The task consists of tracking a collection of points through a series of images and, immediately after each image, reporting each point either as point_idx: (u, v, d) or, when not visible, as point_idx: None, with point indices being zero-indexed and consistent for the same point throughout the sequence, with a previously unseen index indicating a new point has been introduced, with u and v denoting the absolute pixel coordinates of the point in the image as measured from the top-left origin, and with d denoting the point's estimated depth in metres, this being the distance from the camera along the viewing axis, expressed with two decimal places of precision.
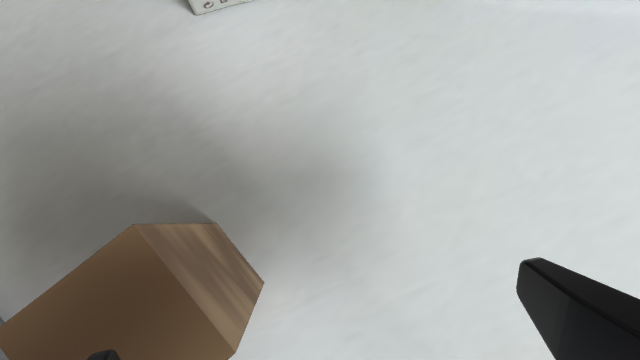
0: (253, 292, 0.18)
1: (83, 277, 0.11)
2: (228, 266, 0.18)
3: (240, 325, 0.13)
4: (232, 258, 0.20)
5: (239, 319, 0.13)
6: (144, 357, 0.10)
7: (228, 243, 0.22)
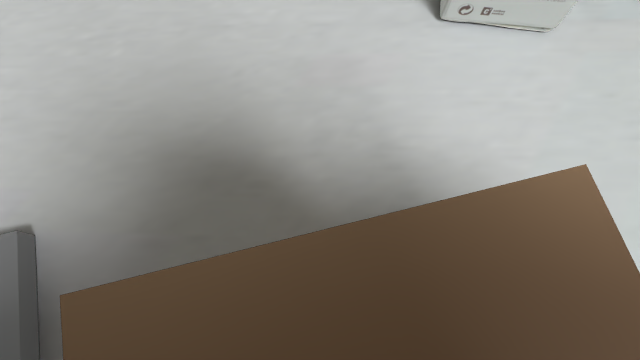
0: None
1: (400, 250, 0.03)
2: None
3: None
4: None
5: None
6: None
7: None
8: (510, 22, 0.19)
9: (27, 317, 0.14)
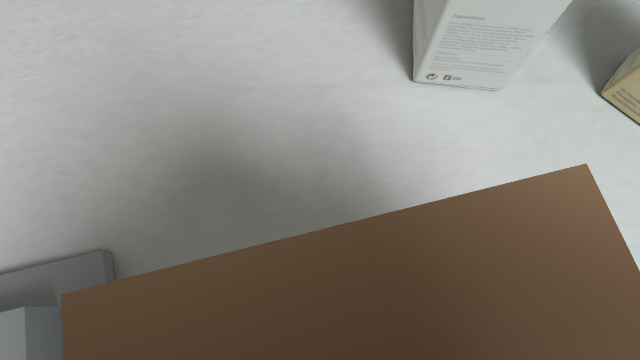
0: None
1: (400, 250, 0.03)
2: None
3: None
4: None
5: None
6: None
7: None
8: (466, 84, 0.24)
9: None
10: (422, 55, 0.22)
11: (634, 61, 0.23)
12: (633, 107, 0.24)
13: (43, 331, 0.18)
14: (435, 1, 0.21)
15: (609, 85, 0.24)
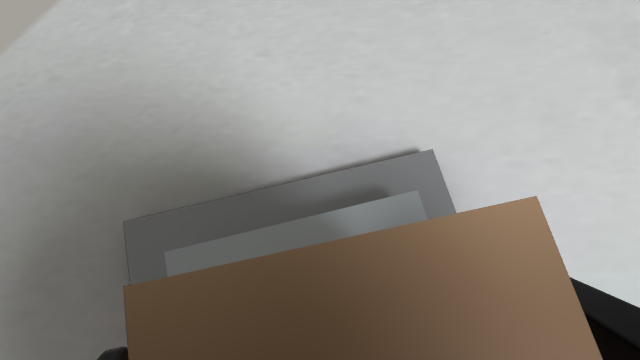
0: None
1: (384, 260, 0.04)
2: None
3: None
4: None
5: None
6: None
7: None
8: None
9: None
10: None
11: None
12: None
13: None
14: None
15: None
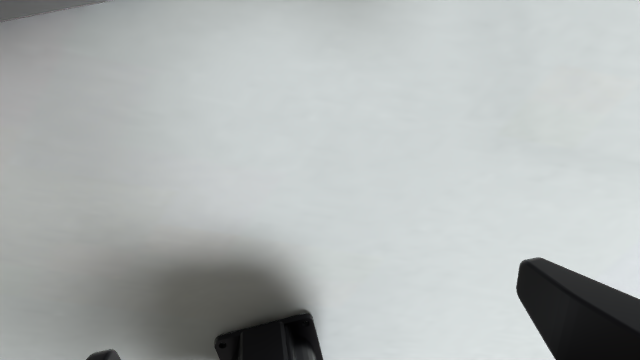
0: None
1: None
2: None
3: None
4: None
5: None
6: None
7: None
8: None
9: None
10: None
11: None
12: None
13: None
14: None
15: None
